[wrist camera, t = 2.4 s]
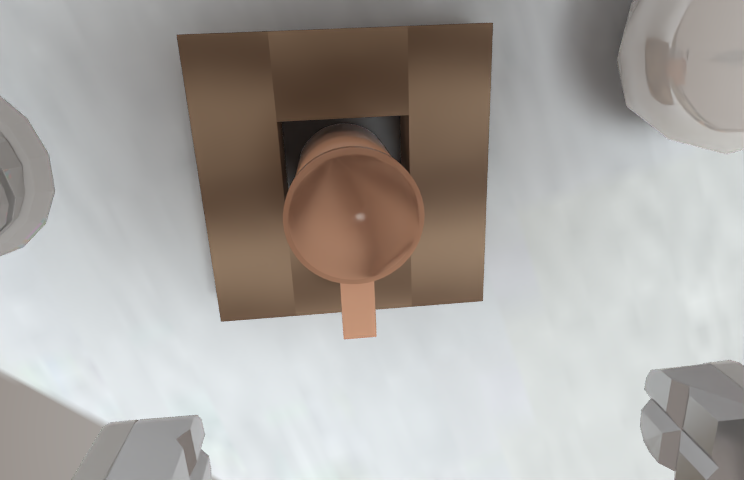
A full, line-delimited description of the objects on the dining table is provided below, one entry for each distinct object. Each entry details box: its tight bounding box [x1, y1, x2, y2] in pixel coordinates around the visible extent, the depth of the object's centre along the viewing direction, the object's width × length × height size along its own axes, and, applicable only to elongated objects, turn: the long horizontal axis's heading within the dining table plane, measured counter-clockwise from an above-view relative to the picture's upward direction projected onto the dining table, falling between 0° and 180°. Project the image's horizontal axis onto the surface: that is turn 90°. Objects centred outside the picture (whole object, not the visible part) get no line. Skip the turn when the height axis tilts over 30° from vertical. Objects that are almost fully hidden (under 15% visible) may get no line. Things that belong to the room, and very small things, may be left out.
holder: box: [177, 23, 493, 322], centre depth 27 cm, size 14×14×3 cm
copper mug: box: [283, 123, 425, 339], centre depth 25 cm, size 8×5×9 cm, turn 2°
